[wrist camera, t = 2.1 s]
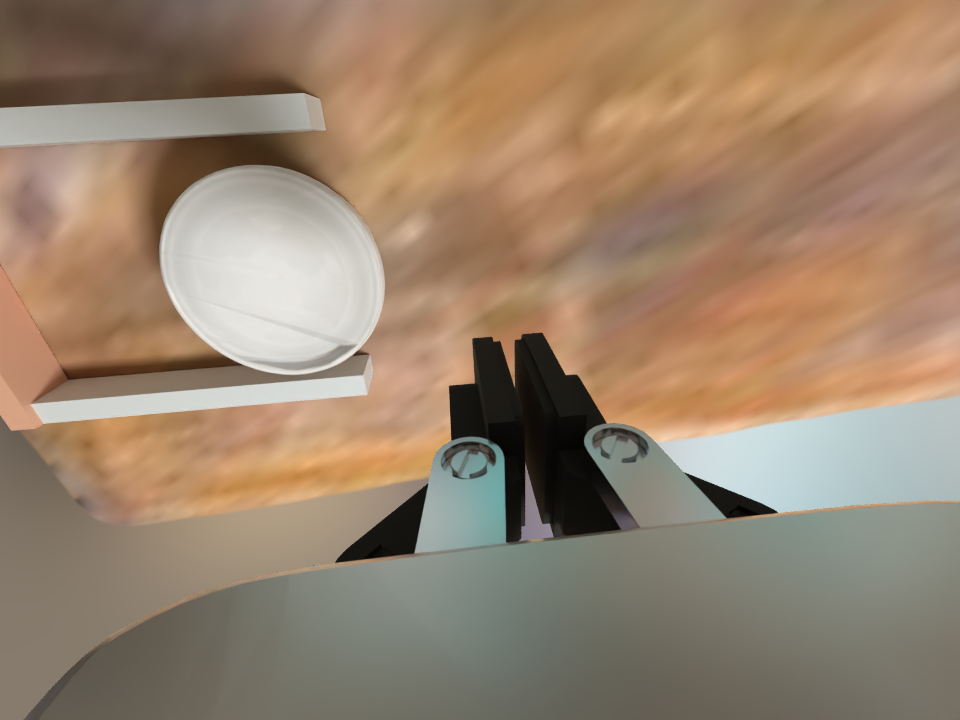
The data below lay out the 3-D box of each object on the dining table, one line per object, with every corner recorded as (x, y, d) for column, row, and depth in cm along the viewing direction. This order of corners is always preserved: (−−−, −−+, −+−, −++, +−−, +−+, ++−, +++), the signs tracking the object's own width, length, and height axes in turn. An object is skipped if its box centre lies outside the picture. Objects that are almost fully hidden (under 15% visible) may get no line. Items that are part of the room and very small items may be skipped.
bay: (-119, 120, 21) (-213, 117, 18) (320, 98, 22) (301, 91, 19) (56, 400, 29) (11, 430, 26) (373, 372, 30) (366, 398, 27)
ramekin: (256, 354, 29) (221, 394, 24) (170, 184, 24) (104, 194, 19) (412, 320, 29) (408, 354, 24) (361, 142, 24) (342, 142, 19)
